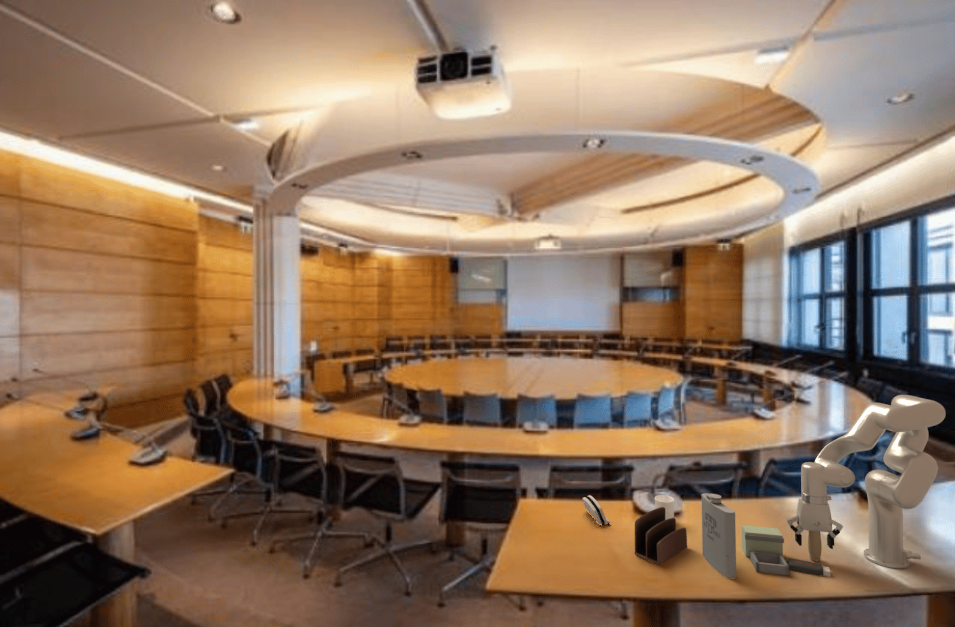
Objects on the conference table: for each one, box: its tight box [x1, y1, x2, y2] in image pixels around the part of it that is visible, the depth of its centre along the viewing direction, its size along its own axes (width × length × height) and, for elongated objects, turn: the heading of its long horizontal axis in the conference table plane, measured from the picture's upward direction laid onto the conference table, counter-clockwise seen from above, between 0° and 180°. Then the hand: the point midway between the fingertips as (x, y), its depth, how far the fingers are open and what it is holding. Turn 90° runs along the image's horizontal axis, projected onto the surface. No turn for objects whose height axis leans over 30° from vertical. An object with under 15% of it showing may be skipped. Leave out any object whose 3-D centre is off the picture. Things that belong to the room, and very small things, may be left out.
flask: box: [700, 492, 737, 580], centre depth 175 cm, size 17×5×25 cm, turn 4°
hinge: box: [582, 494, 611, 525], centre depth 216 cm, size 17×5×10 cm, turn 8°
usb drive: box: [787, 557, 831, 577], centre depth 171 cm, size 5×12×3 cm, turn 61°
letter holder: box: [634, 507, 688, 566], centre depth 186 cm, size 10×20×14 cm, turn 128°
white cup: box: [654, 494, 675, 520], centre depth 211 cm, size 8×8×10 cm
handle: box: [807, 522, 823, 563], centre depth 177 cm, size 5×6×15 cm
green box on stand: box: [741, 524, 790, 576], centre depth 177 cm, size 12×16×9 cm
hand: (814, 545), depth 177 cm, fingers open, 9 cm apart
